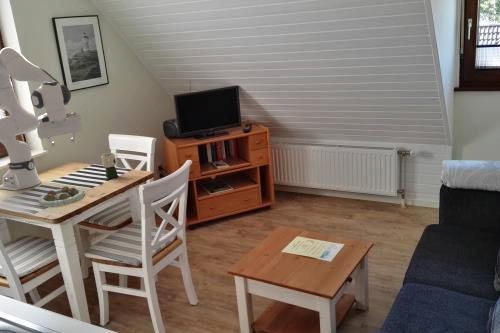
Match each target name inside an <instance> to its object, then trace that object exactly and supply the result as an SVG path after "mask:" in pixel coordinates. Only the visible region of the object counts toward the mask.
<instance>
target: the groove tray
mask: <svg viewBox="0 0 500 333" xmlns="http://www.w3.org/2000/svg"><path fill="white" fill-rule="evenodd" d="M70 188H71V187H69V189H70ZM74 188H75V189H76V190H77V193H76V194H75V195H73V196H71V195H69V193H66V192H64V193H65V194H67V195H68V198H67V199H64V200H60V199H59V196H60V194H62V192H61V189H62V188H60V189H55V190H54V191H55V192H56V195H55V196H54V197H55V200H54V201H47V200H46V196H47V193H48V192H46V193H44V194H43V195H42V194H41V195H40V197H39V198H38V204H39V205H40V206H42V207H58V206H65V205H67V204H71V203H75V202H77V201H78V200H80V199H82V198H83V197H84V196H85V191H84V189H83V188H81V187H74Z"/></svg>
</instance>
